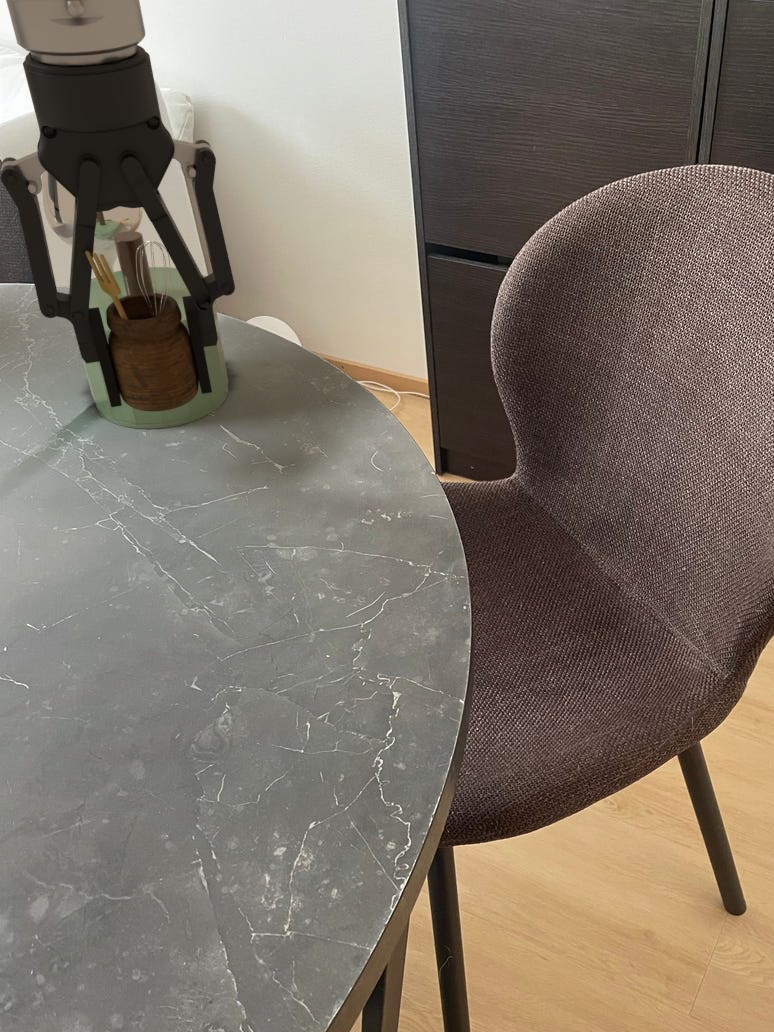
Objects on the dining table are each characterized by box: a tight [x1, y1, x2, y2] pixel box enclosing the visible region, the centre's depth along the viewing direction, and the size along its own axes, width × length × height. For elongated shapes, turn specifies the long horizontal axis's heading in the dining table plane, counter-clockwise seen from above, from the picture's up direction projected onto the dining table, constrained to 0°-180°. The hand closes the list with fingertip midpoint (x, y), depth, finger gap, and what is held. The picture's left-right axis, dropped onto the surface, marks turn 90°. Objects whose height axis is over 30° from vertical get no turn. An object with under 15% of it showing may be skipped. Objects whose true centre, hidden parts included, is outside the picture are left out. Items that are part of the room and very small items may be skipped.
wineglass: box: [41, 171, 144, 274], centre depth 93 cm, size 8×8×18 cm
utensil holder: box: [85, 240, 199, 411], centre depth 75 cm, size 6×6×12 cm
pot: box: [81, 305, 229, 430], centre depth 89 cm, size 11×11×8 cm
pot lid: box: [67, 231, 219, 336], centre depth 84 cm, size 12×12×6 cm
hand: (160, 390), depth 79 cm, fingers closed on utensil holder, 6 cm apart
